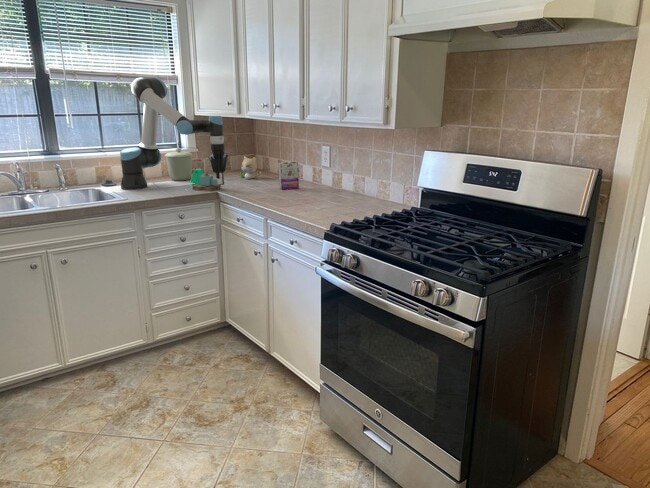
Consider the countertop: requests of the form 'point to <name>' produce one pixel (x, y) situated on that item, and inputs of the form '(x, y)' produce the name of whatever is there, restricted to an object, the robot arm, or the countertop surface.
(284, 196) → the countertop surface
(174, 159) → the canister
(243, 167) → the cream rounded figure
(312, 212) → the countertop surface
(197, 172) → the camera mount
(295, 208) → the countertop surface
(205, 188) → the post block
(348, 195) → the countertop surface
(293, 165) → the candy bar box
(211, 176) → the teal stepped block
